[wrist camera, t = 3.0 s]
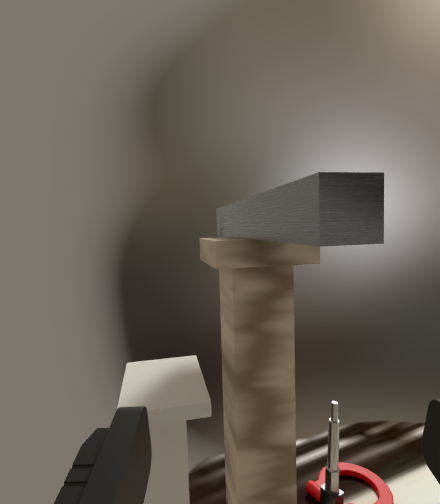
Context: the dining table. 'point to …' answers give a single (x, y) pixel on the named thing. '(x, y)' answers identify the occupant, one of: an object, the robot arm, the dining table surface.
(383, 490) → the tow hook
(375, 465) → the dining table surface
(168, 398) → the rest post
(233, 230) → the hook bar
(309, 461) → the dining table surface
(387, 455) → the dining table surface
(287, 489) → the tall stand
